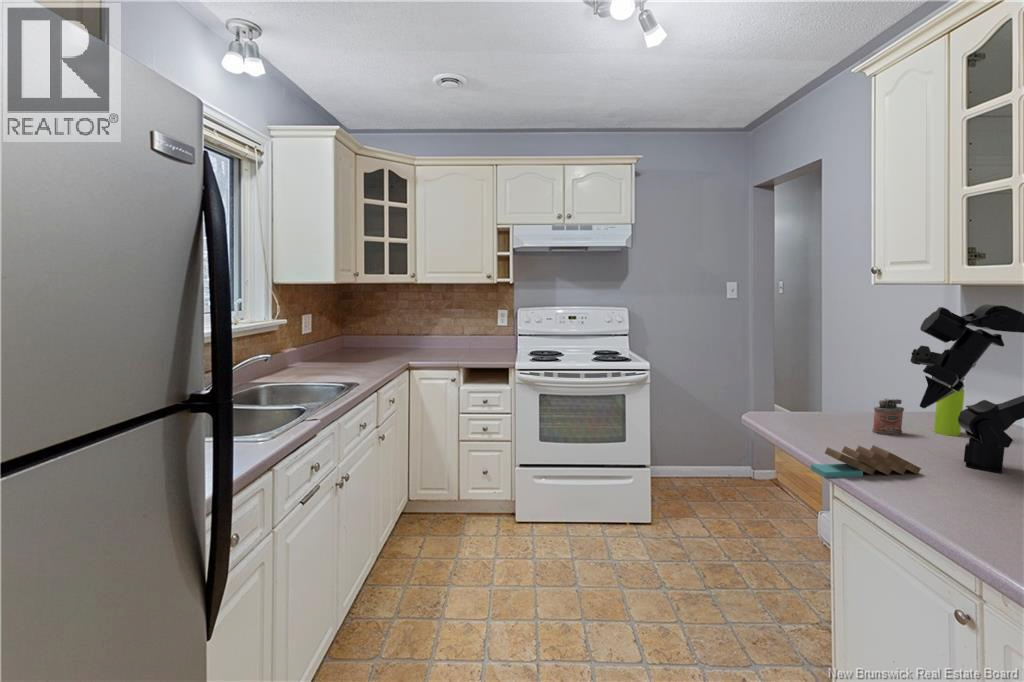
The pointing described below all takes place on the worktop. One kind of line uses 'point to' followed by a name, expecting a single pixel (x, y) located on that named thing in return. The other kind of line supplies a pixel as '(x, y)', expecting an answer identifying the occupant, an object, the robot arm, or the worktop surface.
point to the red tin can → (888, 417)
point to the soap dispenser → (949, 414)
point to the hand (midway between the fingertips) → (921, 407)
